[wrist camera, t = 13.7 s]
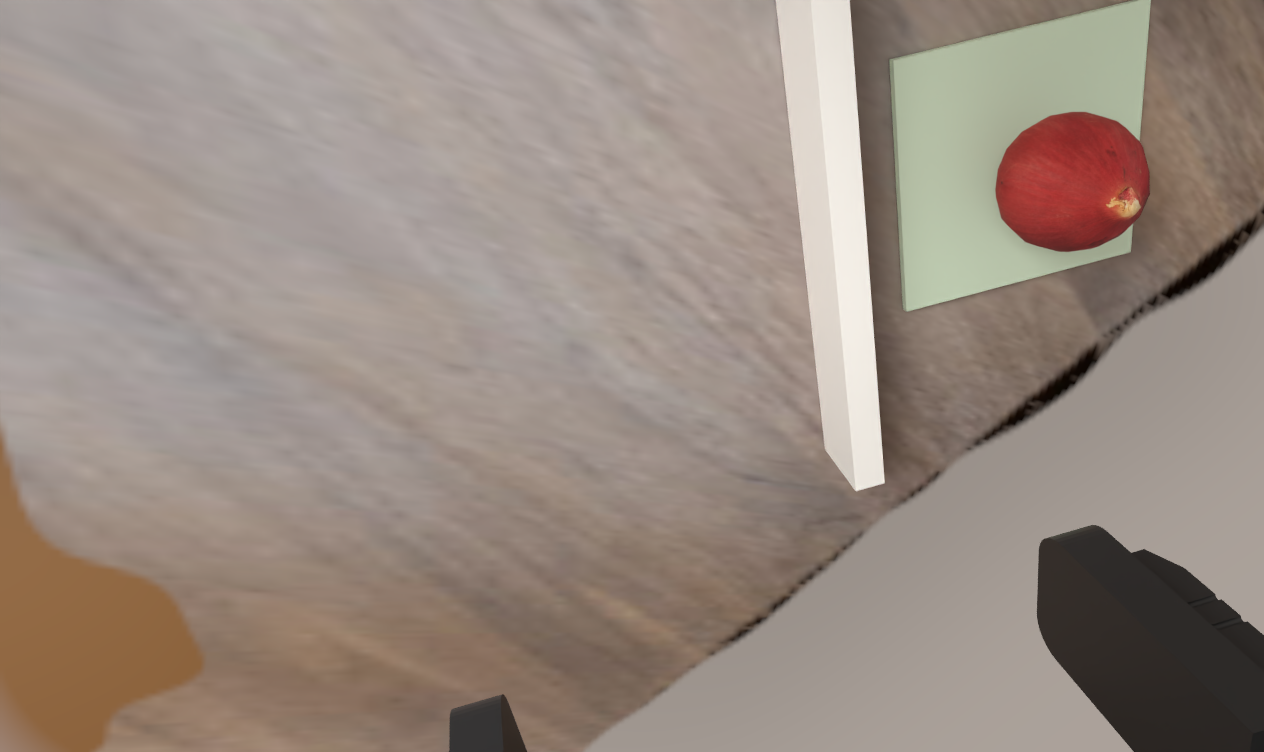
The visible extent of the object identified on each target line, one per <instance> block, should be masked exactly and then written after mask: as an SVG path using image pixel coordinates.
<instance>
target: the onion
mask: <svg viewBox="0 0 1264 752" xmlns="http://www.w3.org/2000/svg"><path fill="white" fill-rule="evenodd" d="M1149 178H1150V176H1149V169H1148V165H1147V161H1146V157H1145V153H1144V149H1143V147H1142V145H1141V143H1140V141H1139V140H1138V139H1137V138H1136V137H1135V136H1134V135H1133V134H1132V133H1131V132H1130V131H1129V130H1128V129H1127V128H1126V127H1124V126H1123V125H1122V124H1120V123H1119V122H1118V121H1115V120H1112V119H1109V118H1106V117H1102V116H1099V115H1095V114H1091V113H1088V112H1068V113H1062V114H1057V115H1051V116H1048V117H1047V118H1045V119H1043V120H1041V121H1039V122H1038V123H1036V124H1034V125H1033V126H1031V127H1029V128H1027V129H1026V130H1024V131H1022V132H1021V133H1020V134H1019V135H1018V137H1017V138H1016V139H1015V140H1014V141H1013V142H1012V143H1011V144H1010V146H1009V147H1008V148H1007V149H1006V151H1005V154H1004V156H1003V158H1002V161H1001V163H1000V165H999V168H998V172H997V180H996V188H995V192H996V200H997V203H998V207H999V211H1000V215H1001V219H1002V220H1003V221H1004V222H1005V223H1006V224H1007V225H1008V226H1009V228H1011V229H1012V230H1013V231H1014V232H1015V233H1016V234H1017V235H1018V236H1019V237H1020V238H1021V239H1023V240H1024V241H1025V242H1026V243H1029V244H1032V245H1036V246H1039V247H1043V248H1046V249H1050V250H1054V251H1058V252H1072V251H1079V250H1086V249H1092V248H1095V247H1098V246H1101V245H1103V244H1105V243H1107V242H1108V241H1110V240H1112V239H1114V238H1116V237H1118V236H1120V235H1121V234H1123V233H1124V232H1125V231H1126V230H1127V229H1128V228H1129V227H1130V226H1131V225H1132V224H1133V223H1134V222H1135V221H1136V220H1137V219H1138V218H1139V217H1140V215H1141V212H1142V210H1143V208H1144V206H1145V203H1146V201H1147V199H1148V197H1149V195H1150V184H1149Z"/></svg>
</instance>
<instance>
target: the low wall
mask: <svg viewBox="0 0 1264 752" xmlns="http://www.w3.org/2000/svg"><path fill="white" fill-rule="evenodd" d="M776 8H777V17H778V27H779V36H780V45H781V54H782V63H783V72H784V81H785V90H786V99H787V108H788V117H789V127H790V136H791V145H792V154H793V163H794V172H795V181H796V190H797V199H798V208H799V217H800V227H801V236H802V245H803V254H804V263H805V272H806V281H807V290H808V299H809V308H810V317H811V327H812V336H813V345H814V354H815V363H816V372H817V381H818V390H819V399H820V408H821V417H822V427H823V436H824V445H825V450H826V452H827V453H828V454H829V456H830V457H831V458H832V460H833V461H834V462H835V464H836V465H837V466H838V468H839V469H840V470H841V472H842V473H843V475H844V476H845V477H846V479H847V480H848V481H849V483H850V484H851V485H852V487H853V488H854V489H855V491H858V490H862V489H865V488H869V487H873V486H876V485H880V484H883V483H885V481H884V467H883V453H882V439H881V425H880V412H879V398H878V384H877V370H876V357H875V343H874V329H873V315H872V301H871V288H870V274H869V260H868V246H867V232H866V219H865V205H864V191H863V177H862V164H861V150H860V136H859V122H858V108H857V95H856V81H855V67H854V53H853V39H852V26H851V12H850V0H776Z"/></svg>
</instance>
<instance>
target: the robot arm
mask: <svg viewBox="0 0 1264 752" xmlns="http://www.w3.org/2000/svg"><path fill="white" fill-rule="evenodd" d="M1038 565H1039V566H1038V597H1037V619H1038V624H1039V628H1040V631H1041V634H1042V636H1043V639H1044V641H1045V643H1046V645H1047V647H1048V649H1049V650H1050V652H1051V654H1052V655H1053V656H1054V658H1055V659H1056V660H1057V661H1058V662H1059V664H1060V665H1061V666H1062V667H1063V669H1064V670H1065V671H1066V672H1067V673H1068V674H1069V676H1070V677H1071V678H1072V679H1073V680H1074V682H1075V683H1076V684H1077V685H1078V686H1079V687H1080V688H1081V690H1082V691H1083V692H1084V693H1085V694H1086V696H1087V697H1088V698H1089V699H1090V700H1091V702H1092V703H1093V704H1094V705H1095V706H1096V708H1097V709H1098V710H1099V711H1100V712H1101V713H1102V714H1103V716H1104V717H1105V718H1106V719H1107V720H1108V722H1109V723H1110V724H1111V725H1112V726H1113V728H1114V729H1115V730H1116V731H1117V732H1118V733H1119V734H1120V736H1121V737H1122V738H1123V739H1124V740H1125V742H1126V743H1127V744H1128V745H1129V746H1130V748H1131V749H1132V750H1133V751H1134V752H1264V635H1263V634H1262V633H1260V632H1259V631H1258V630H1257V629H1256V628H1254V627H1253V626H1252V625H1251V624H1250V623H1249V622H1243V621H1242V619H1241V616H1240V615H1239V614H1238V613H1237V612H1236V611H1234V610H1233V609H1232V608H1231V607H1230V606H1229V605H1227V604H1226V603H1225V602H1224V601H1222V600H1218V599H1217V598H1216V596H1215V594H1214V593H1213V592H1212V591H1211V590H1210V589H1208V588H1207V587H1206V586H1205V585H1204V584H1202V583H1201V582H1200V581H1199V580H1198V579H1197V578H1195V577H1194V576H1193V575H1192V574H1191V573H1190V572H1188V571H1187V570H1186V569H1184V568H1183V567H1181V566H1179V565H1177V564H1174V563H1172V562H1170V561H1168V560H1166V559H1164V558H1162V557H1160V556H1158V555H1155V554H1153V553H1151V552H1149V551H1147V550H1145V549H1143V550H1140V551H1137V552H1133V553H1131V552H1129V551H1128V550H1127V549H1126V548H1125V547H1124V546H1123V545H1122V544H1120V543H1119V542H1118V541H1117V540H1115V538H1114V537H1113V536H1111V535H1110V534H1109V533H1108V532H1107V531H1106V530H1104V529H1103V528H1101V527H1099V526H1096V525H1091V526H1087V527H1084V528H1080V529H1077V530H1074V531H1070V532H1067V533H1063V534H1060V535H1056V536H1053V537H1049V538H1046V539H1044V540H1042V542H1041V543H1040V547H1039V564H1038ZM449 752H527V750H526V748H525V745H524V742H523V740H522V737H521V735H520V732H519V729H518V727H517V724H516V722H515V719H514V716H513V714H512V711H511V708H510V706H509V703H508V701H507V699H506V697H505V696H504V695H503V694H502V695H499V696H495V697H492V698H489V699H485V700H482V701H478V702H475V703H471V704H468V705H464V706H461V707H458V708H454V709H452V710H451V713H450V751H449Z"/></svg>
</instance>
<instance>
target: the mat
mask: <svg viewBox="0 0 1264 752" xmlns="http://www.w3.org/2000/svg"><path fill="white" fill-rule="evenodd" d="M1150 4H1151V0H1132V1H1128V2H1124V3H1119V4H1115V5H1111V6H1107V7H1103V8H1099V9H1095V10H1091V11H1087V12H1082V13H1078V14H1074V15H1070V16H1066V17H1062V18H1058V19H1054V20H1050V21H1046V22H1041V23H1037V24H1033V25H1029V26H1025V27H1021V28H1017V29H1013V30H1009V31H1005V32H1000V33H996V34H992V35H988V36H984V37H980V38H976V39H972V40H968V41H963V42H959V43H955V44H951V45H947V46H943V47H939V48H935V49H931V50H927V51H922V52H918V53H914V54H910V55H906V56H902V57H898V58H894V59H890V60H889V64H890V82H891V101H892V119H893V138H894V156H895V175H896V193H897V212H898V230H899V249H900V267H901V286H902V304H903V309H904V310H905V311H906V312H908V311H911V310H915V309H919V308H923V307H926V306H930V305H934V304H938V303H941V302H945V301H949V300H953V299H956V298H960V297H964V296H968V295H971V294H975V293H979V292H983V291H986V290H990V289H994V288H998V287H1001V286H1005V285H1009V284H1013V283H1016V282H1020V281H1024V280H1028V279H1032V278H1035V277H1039V276H1043V275H1047V274H1050V273H1054V272H1058V271H1062V270H1065V269H1069V268H1073V267H1077V266H1080V265H1084V264H1088V263H1092V262H1095V261H1099V260H1103V259H1107V258H1110V257H1114V256H1118V255H1122V254H1125V253H1129V252H1131V242H1132V230H1133V224H1132V225H1131V226H1130V227H1129V228H1128V229H1127V230H1126V231H1125V232H1124V233H1123V234H1121V235H1120V236H1118V237H1116V238H1114V239H1112V240H1110V241H1108V242H1107V243H1105V244H1103V245H1101V246H1098V247H1095V248H1092V249H1086V250H1079V251H1072V252H1058V251H1054V250H1050V249H1046V248H1043V247H1039V246H1036V245H1032V244H1029V243H1026V242H1025V241H1024V240H1023V239H1021V238H1020V237H1019V236H1018V235H1017V234H1016V233H1015V232H1014V231H1013V230H1012V229H1011V228H1009V226H1008V225H1007V224H1006V223H1005V222H1004V221H1003V220H1002V219H1001V215H1000V211H999V207H998V203H997V200H996V192H995V188H996V180H997V172H998V168H999V165H1000V163H1001V161H1002V158H1003V156H1004V154H1005V151H1006V149H1007V148H1008V147H1009V146H1010V144H1011V143H1012V142H1013V141H1014V140H1015V139H1016V138H1017V137H1018V135H1019V134H1020V133H1021V132H1022V131H1024V130H1026V129H1027V128H1029V127H1031V126H1033V125H1034V124H1036V123H1038V122H1039V121H1041V120H1043V119H1045V118H1047V117H1048V116H1051V115H1057V114H1062V113H1068V112H1088V113H1091V114H1095V115H1099V116H1102V117H1106V118H1109V119H1112V120H1115V121H1118V122H1119V123H1120V124H1122V125H1123V126H1124V127H1126V128H1127V129H1128V130H1129V131H1130V132H1131V133H1132V134H1133V135H1134V136H1135V137H1136V138H1137V139H1138V140H1139V141H1140V129H1141V117H1142V104H1143V92H1144V79H1145V67H1146V54H1147V42H1148V29H1149V17H1150Z"/></svg>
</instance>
